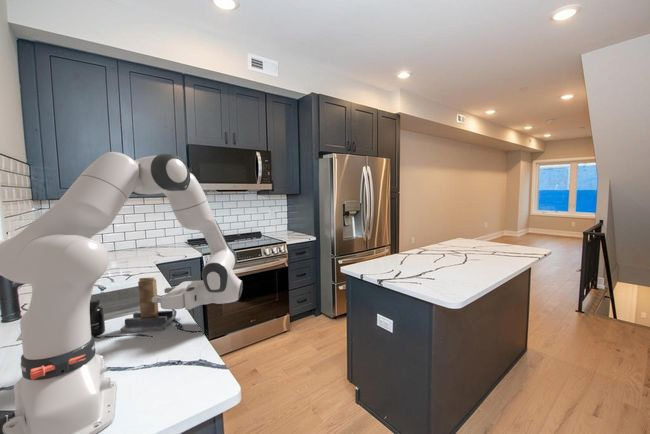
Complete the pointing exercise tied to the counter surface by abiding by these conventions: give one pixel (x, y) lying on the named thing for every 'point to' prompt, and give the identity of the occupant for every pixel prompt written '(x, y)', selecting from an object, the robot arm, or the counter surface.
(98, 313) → the supplement bottle
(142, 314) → the brown tall rectangular block
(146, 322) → the floor track
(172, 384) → the counter surface
